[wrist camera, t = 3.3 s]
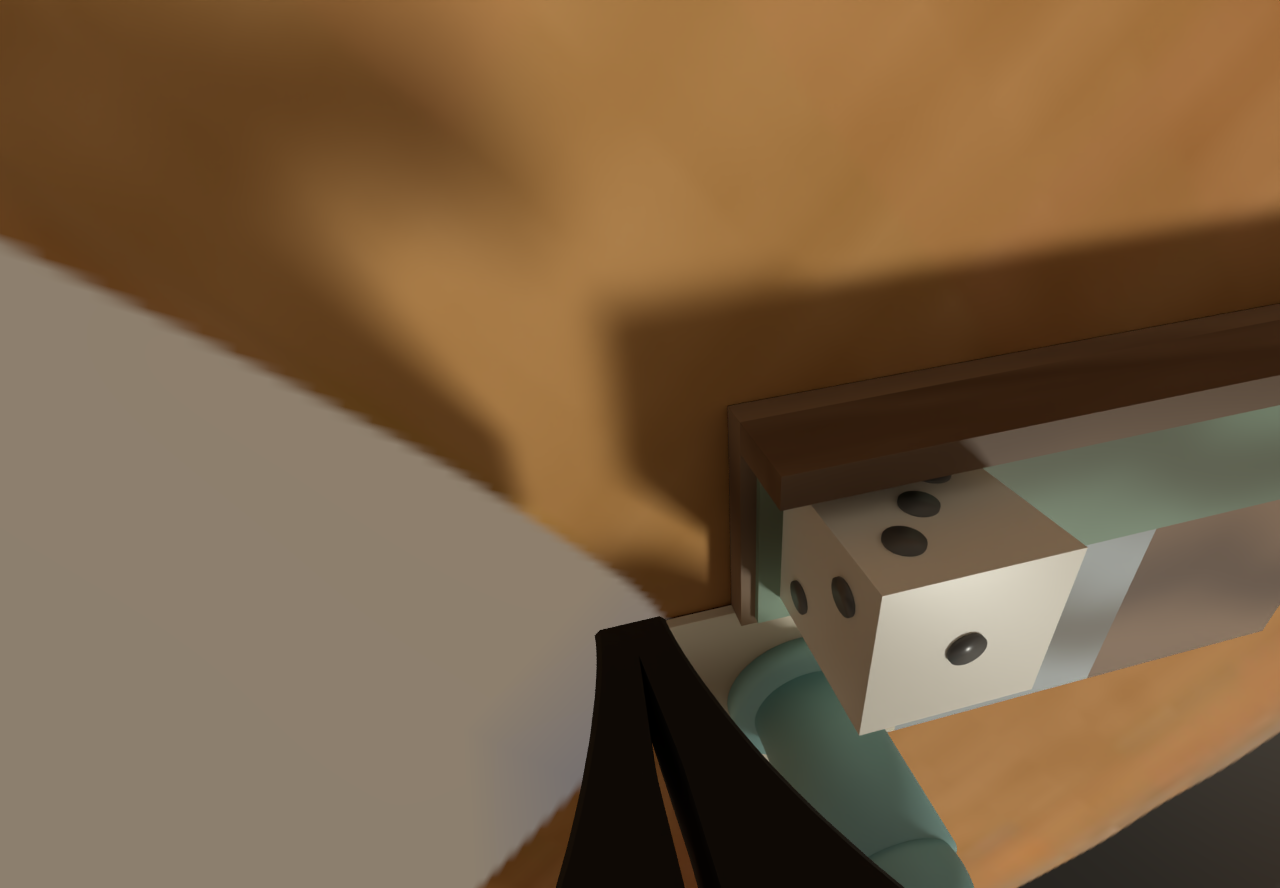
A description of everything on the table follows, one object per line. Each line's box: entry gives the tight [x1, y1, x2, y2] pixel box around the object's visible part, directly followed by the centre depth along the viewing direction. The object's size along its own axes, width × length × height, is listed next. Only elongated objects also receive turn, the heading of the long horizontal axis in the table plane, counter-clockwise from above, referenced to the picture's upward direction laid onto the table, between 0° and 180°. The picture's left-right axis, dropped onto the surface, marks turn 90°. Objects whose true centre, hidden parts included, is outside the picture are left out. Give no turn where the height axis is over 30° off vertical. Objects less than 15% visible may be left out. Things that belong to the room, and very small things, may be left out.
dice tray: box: [728, 304, 1280, 626], centre depth 15 cm, size 6×24×3 cm, turn 96°
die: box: [780, 468, 1088, 736], centre depth 13 cm, size 4×4×4 cm
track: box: [666, 500, 1280, 761], centre depth 20 cm, size 8×24×1 cm, turn 96°
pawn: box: [727, 637, 974, 888], centre depth 16 cm, size 5×5×7 cm
